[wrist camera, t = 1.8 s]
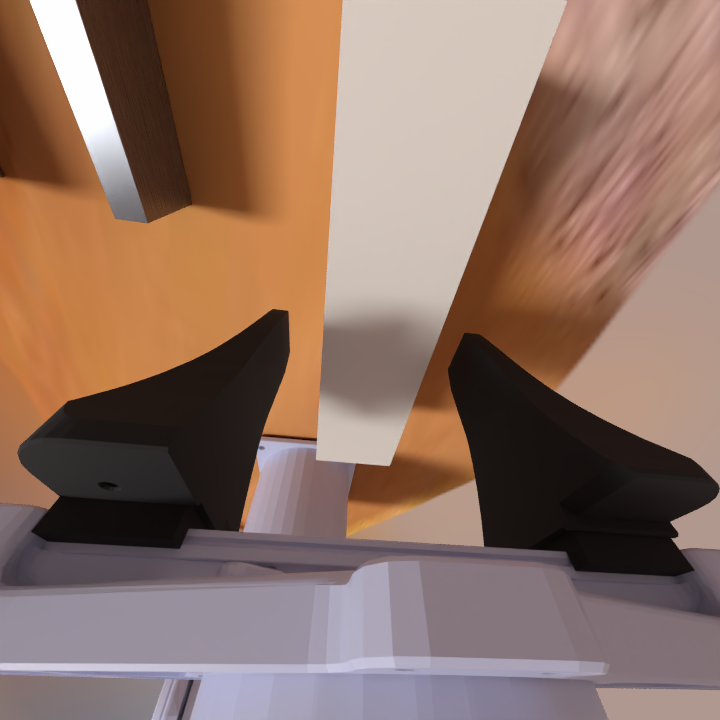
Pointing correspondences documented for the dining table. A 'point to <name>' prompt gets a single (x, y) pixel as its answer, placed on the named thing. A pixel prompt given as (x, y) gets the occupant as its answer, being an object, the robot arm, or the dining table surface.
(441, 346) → the dining table surface
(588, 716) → the robot arm
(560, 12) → the rail
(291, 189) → the dining table surface
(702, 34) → the dining table surface
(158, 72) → the u-shaped bracket
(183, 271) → the dining table surface
